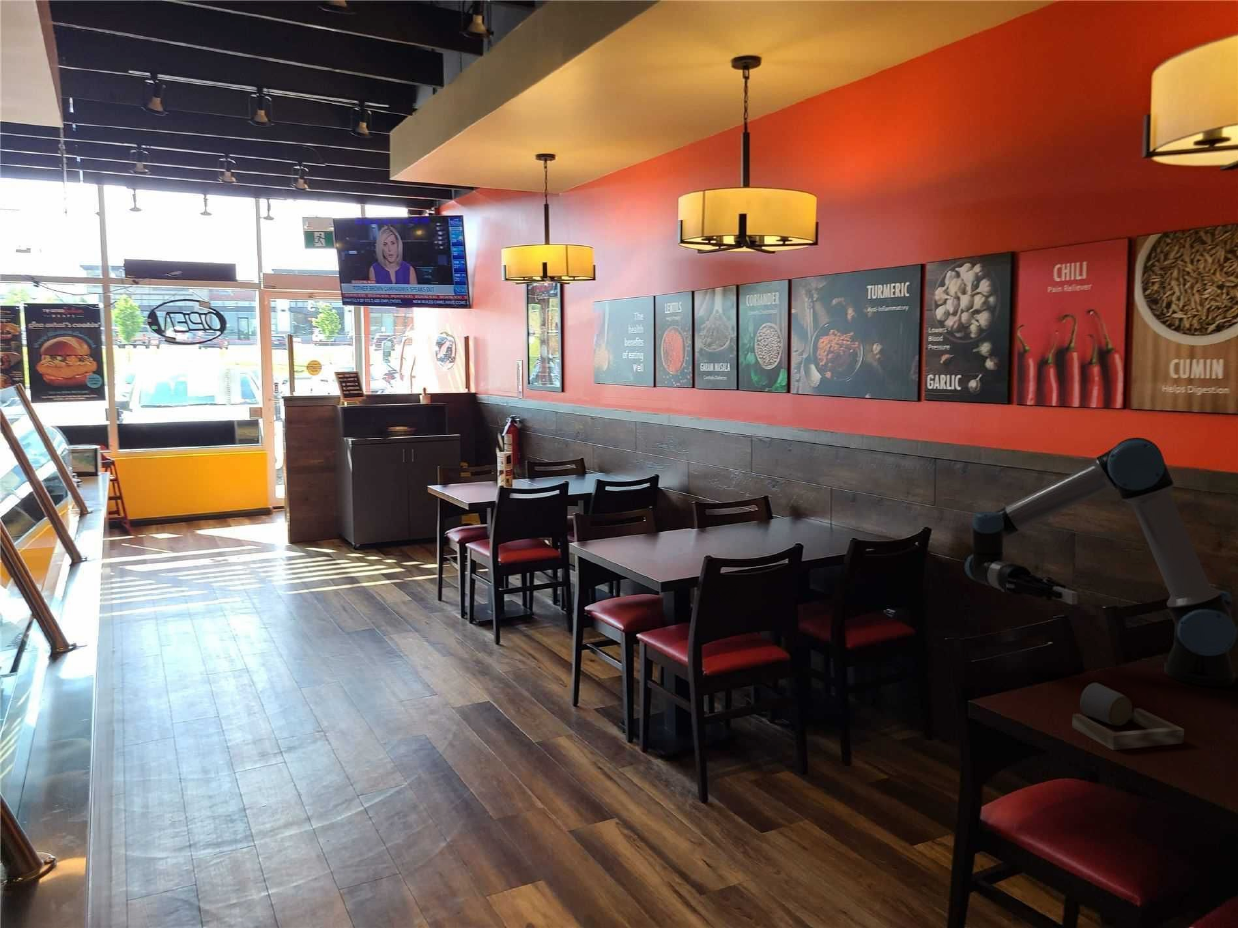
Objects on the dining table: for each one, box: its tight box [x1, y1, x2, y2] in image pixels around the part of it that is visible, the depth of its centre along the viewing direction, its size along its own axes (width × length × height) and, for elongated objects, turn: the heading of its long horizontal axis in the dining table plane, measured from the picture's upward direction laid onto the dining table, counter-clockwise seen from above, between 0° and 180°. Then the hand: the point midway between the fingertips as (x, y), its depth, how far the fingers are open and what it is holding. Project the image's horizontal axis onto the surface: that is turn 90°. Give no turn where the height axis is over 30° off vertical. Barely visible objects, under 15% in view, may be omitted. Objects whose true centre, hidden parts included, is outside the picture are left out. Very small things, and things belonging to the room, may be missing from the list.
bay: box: [1071, 707, 1185, 751], centre depth 188 cm, size 17×12×3 cm
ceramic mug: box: [1079, 682, 1134, 727], centre depth 196 cm, size 11×8×8 cm
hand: (1074, 598), depth 203 cm, fingers closed
